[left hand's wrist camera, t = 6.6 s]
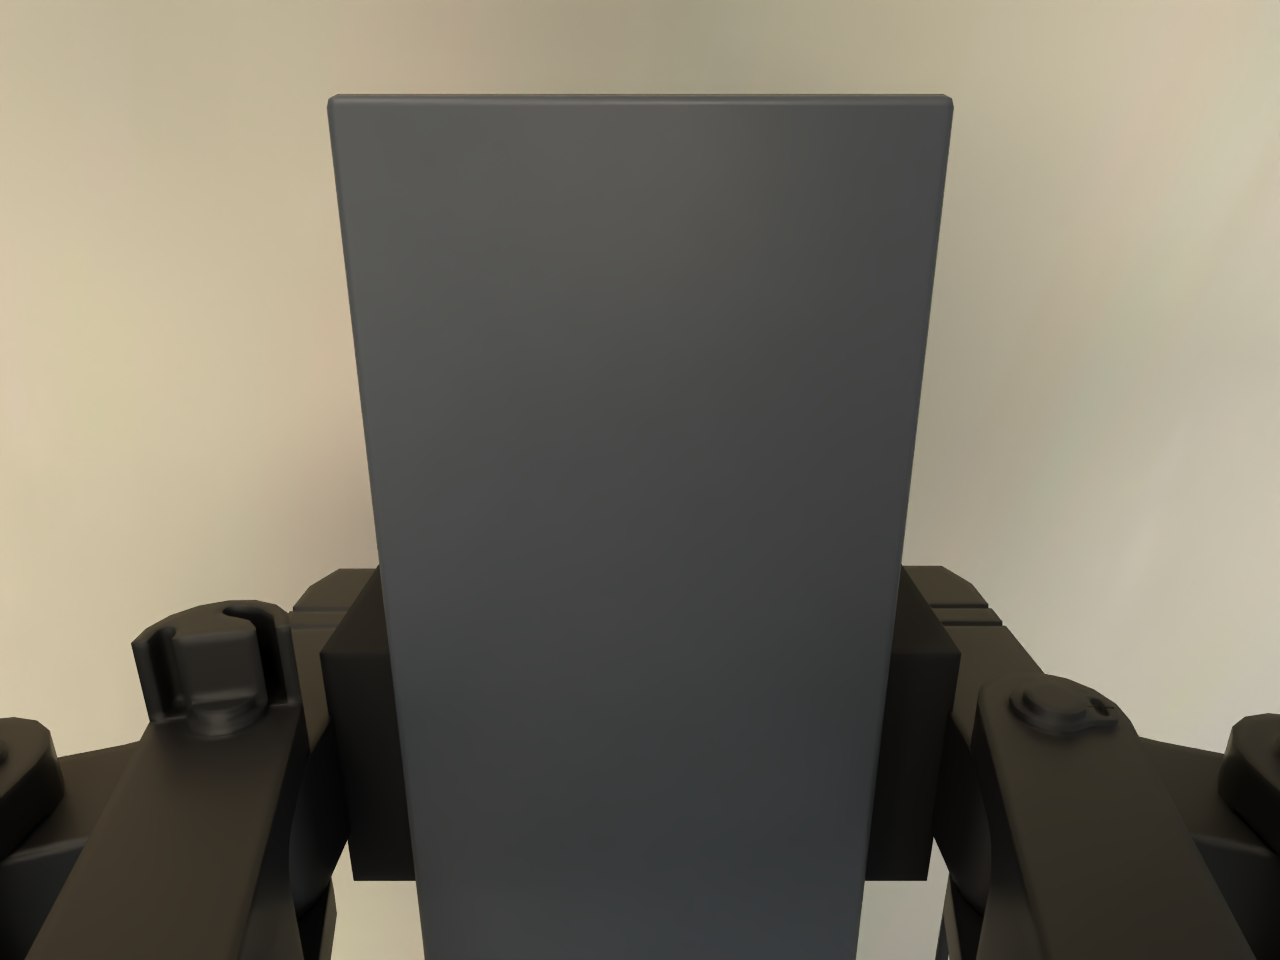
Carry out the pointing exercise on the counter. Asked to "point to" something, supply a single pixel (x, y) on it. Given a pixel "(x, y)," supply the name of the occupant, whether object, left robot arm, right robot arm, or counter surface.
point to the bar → (640, 499)
